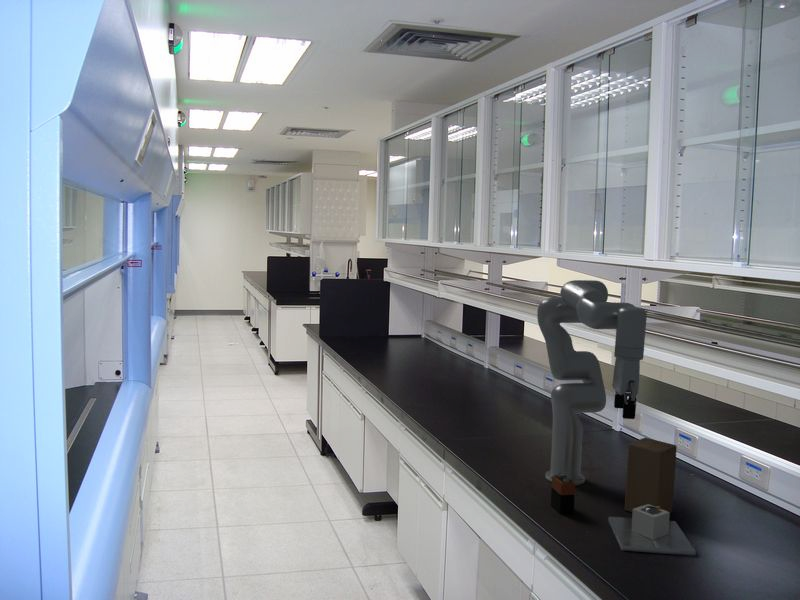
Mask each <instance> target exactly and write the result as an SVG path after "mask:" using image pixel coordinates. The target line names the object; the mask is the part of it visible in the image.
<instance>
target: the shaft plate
mask: <svg viewBox="0 0 800 600" xmlns="http://www.w3.org/2000/svg"><path fill="white" fill-rule="evenodd" d="M657 510H658V509H657V508H656V507H653V506H646V508H645V512H647V513H649V514H652V515H654V514H657ZM607 521H608V523H609V525H610V527H611V529H612V532H613V534H614V536H615V538H616V540H617V543H618V545H619V547H620V549H621V551H626V552H627V551H629V552H638V553H641V552H642V553H643V552H644V553H651V554H652V553H654V554H669V555H680V556H693V557H694V556H696V554H697V552H696V549H695V547H694V546H693V545H692V543H691V542H690V540H689V538H687V536H686V535H685V533H684V532H683V530H682V529H681V527H680V526H679V524H678V523H677V522H676V520H669V533H668V535H665V536H662V537H660V538H657V539H654V540H652V539H650V538H647V537H645V536H643V535H640V534H638V533H636V532H633V531H632V517H620V516H619V517H618V516H608V519H607Z"/></svg>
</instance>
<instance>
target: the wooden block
mask: <svg viewBox="0 0 800 600" xmlns="http://www.w3.org/2000/svg"><path fill="white" fill-rule="evenodd" d="M677 448H678V446H677V445H676V444H673V443H669V442H665V441H661V440H657V439H652V438H648V437H643V438H640V439H638V440H636V441H633V442H630V443H628V449H627V465H626V480H625V496H624V498H625V499H624V510H625V511H627V512H629V513H632V512H633V509H634V508H637V507H640V506H644V505H647V504H650V505H652V506H660V509H662V510H665V511H668V512H670V513H672V512H673V503H674V493H675V492H674V489H675V475H676V474H675V473H676V462H677Z"/></svg>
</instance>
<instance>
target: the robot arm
mask: <svg viewBox="0 0 800 600" xmlns="http://www.w3.org/2000/svg"><path fill="white" fill-rule="evenodd" d="M608 298H609V291H608V288H607V286H606V285H605V283H604V282H602V281H600V280H592V279H591V280H589V279H588V280H587V279H586V280H585V279H584V280H580V279H576V280H575V279H574V280H569V281H567V282H565V283H564V284H563V285H562V287H560V297H559V296H558V297H548V298H546V299H542V301H541V302H539V304H538V307H537V311H536V312H537V314H536V315H537V316H536V317H537V322H538V323H537V324H538V327H539V329H540V332H541V334H542V336H543V338H544V341H545V345H546V352H547V356H548V357H547V358H548V363H549V364H548V365H549V368H550V372H551V375H552V377H553V378H554V379H556V380H557V381H582V382H571V383H570V382H566V383H561V384H558V385H556V386H554V387H553V389H552V390H551V393H550V402H551V406H552V407H551V409H552V435H551V455H550V456H551V457H550V469H549V470H547V471H546V472H545V475H544V476H545V479H546V480H547V481H549V482H551V483H552V476H554V475H558V473H564V474H565V475H566V476H567V477H568V478H569V479H571V480H572V481H573V482H575V487H576V486H580V485H583V484H584V483H585V482H586V477H585V475H584V474H582V473H581V468H582V452H583V451H582V450H583V437H584V436H583V433H584V428H583V424H582V422H581V420H580V419H579V417H578V415H577V414H583V413H585V414H588V413H589V414H590V413H598V412H599V413H600V412H601V411H603V410H604V409H605V407H606V404H607V394H606V390H605V389H606V388H605V384H604V379H603V374H602V370H601V366H600V362H599V359H598V357H597V355H596V354H594V353H593V352H592V351H587V350H585V351H584V350H579V351H577V350H575V348H574V345H573V340H572V337H571V335H570V334H569V333H568V331H567V330H566V329H565V328H564V327H563V326H562V325H561V324H583V325H585V326H586V327H588V328H590V329H594V330H615V339H614V340H615V343H614V356H613V357H614V358H615V361H614V369H613V375H612V382H611V383H612V384H611V385H612V388H613V390H614V393H615V394H614V399H613V400H614V402H613V407H614V409H622V419H625V420H635V419H636V409H637V398H638V397H637V396H638V394H639V387H640V375H641V374H640V370H641V369H640V368H641V367H640V365H641V361H642V360H643V359H644V356H645V355H644V352H645V341H646V332H647V331H646V330H647V320H648V319H647V317H648V313H647V310H645V309H644V308H642V307H637V306H635V305H634V304H632V303H629V302H616V301H615V302H613V301H609V302H608Z"/></svg>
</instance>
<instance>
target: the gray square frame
mask: <svg viewBox="0 0 800 600" xmlns="http://www.w3.org/2000/svg"><path fill="white" fill-rule="evenodd" d="M646 506H652V505H650V504H647V505H644V506H640V507H637V508H634V509H633V512H631V513H632V516H631V518H632V531H633V532H636V533H638V534H640V535H643V536H645V537H647V538H650V539H652V540H654V539H657V538H660V537H662V536H665V535H668V533H669V521H670V514H671V512H668V511H665V510H662V509H660V506H653V507H656V508H657V509H658V510H657V514H654V515H652V514H649V513H647V512H645V508H646Z"/></svg>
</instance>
